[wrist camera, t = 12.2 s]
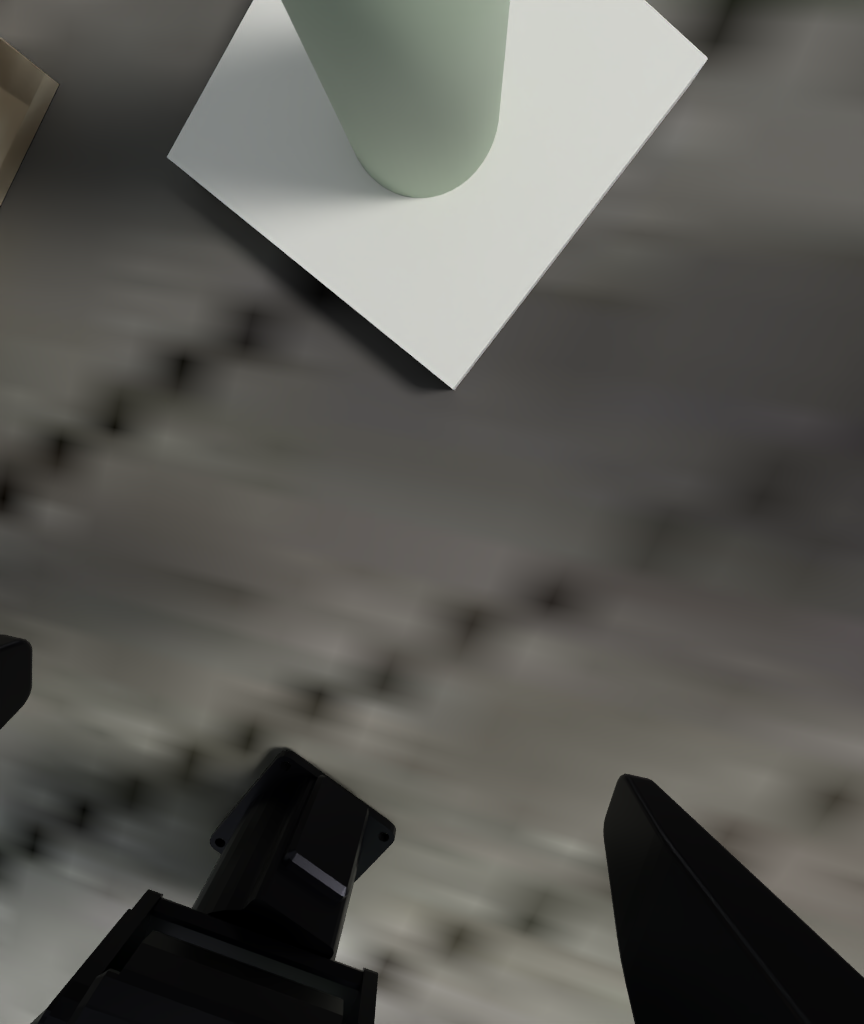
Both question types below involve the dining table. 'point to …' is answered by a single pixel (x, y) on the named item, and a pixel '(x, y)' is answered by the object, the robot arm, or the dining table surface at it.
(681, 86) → the board
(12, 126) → the frame
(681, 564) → the dining table surface
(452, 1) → the round block
